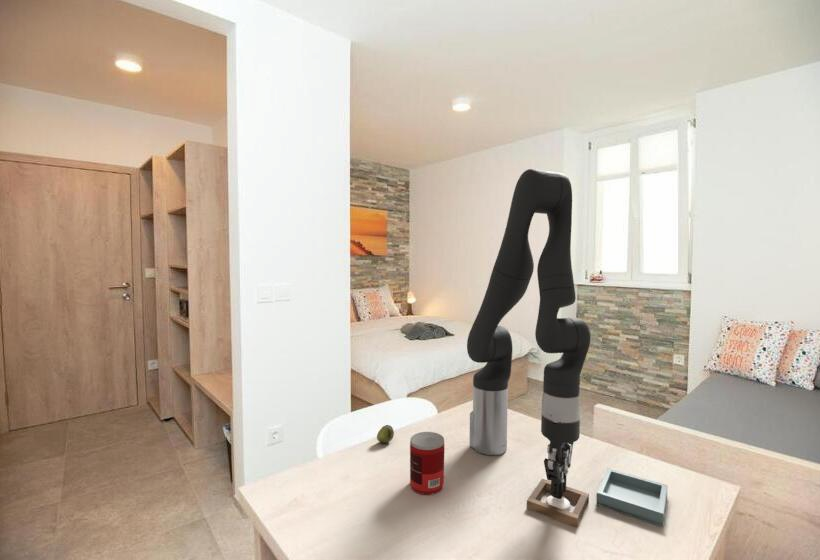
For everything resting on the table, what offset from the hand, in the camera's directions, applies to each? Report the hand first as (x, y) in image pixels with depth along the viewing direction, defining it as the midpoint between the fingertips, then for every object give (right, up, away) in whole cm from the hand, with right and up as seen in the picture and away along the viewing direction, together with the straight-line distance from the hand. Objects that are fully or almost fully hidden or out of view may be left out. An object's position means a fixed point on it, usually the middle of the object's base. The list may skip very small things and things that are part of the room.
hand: (558, 493), depth 85 cm
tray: (+17, -2, +2) cm, 17 cm away
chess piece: (0, -3, 0) cm, 3 cm away
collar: (0, -3, 0) cm, 3 cm away
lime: (-38, -1, +29) cm, 48 cm away
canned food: (-27, -2, +8) cm, 28 cm away
